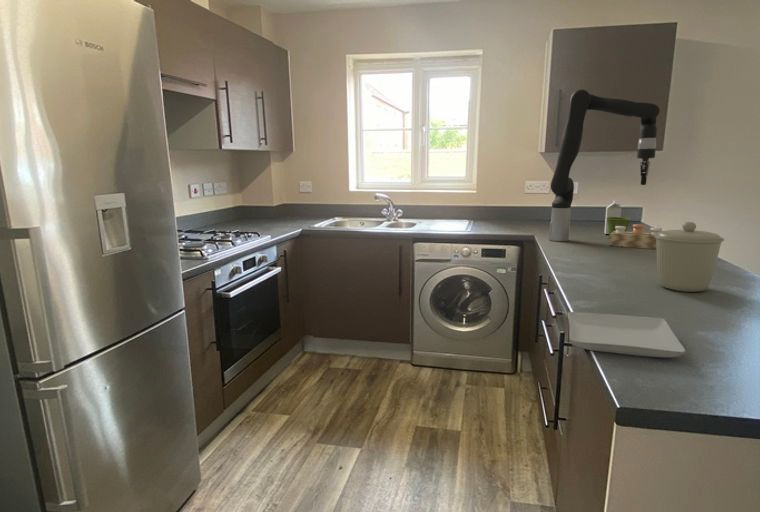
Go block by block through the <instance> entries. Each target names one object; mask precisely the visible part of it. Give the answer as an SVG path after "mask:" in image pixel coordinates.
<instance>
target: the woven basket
mask: <svg viewBox="0 0 760 512" xmlns="http://www.w3.org/2000/svg"><path fill="white" fill-rule="evenodd" d="M610 245H613V246H612V247H621V246H623V248H637V249H652V250H657V249H656V238H655V237H654V235H651V232H642V235H639V234H633V231H626V232H625V234H622V233H616V231H613V232H612V233H611V234H610V239H609V246H610Z"/></svg>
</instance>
